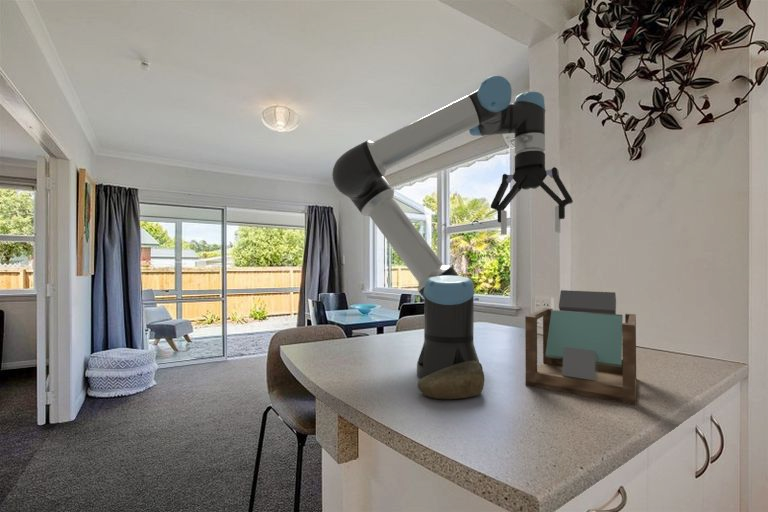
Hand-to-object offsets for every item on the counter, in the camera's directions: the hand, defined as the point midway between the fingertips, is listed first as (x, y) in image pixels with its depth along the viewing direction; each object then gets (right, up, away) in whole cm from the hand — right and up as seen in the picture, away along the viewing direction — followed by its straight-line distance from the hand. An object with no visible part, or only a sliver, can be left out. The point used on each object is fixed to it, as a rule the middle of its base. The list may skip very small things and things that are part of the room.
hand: (529, 233), depth 98 cm
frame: (+7, -34, -14) cm, 38 cm away
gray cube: (+5, -31, -16) cm, 35 cm away
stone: (-24, -34, -23) cm, 48 cm away
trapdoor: (+11, -24, -8) cm, 28 cm away
